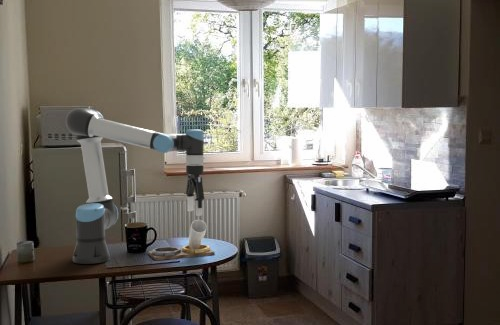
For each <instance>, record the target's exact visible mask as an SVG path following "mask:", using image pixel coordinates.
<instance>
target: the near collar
mask: <svg viewBox="0 0 500 325" xmlns="http://www.w3.org/2000/svg"><path fill="white" fill-rule="evenodd" d="M168 250H169V251H172V252H159V251H168ZM151 251H152V253H153V254H154V255H156V256H172V255H177V254H180V253H181V248H180V247H179V246H177V247H176V246H159V247H155V248H154V249H153V248H152V249H151Z"/></svg>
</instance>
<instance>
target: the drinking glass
mask: <svg viewBox="0 0 500 325" xmlns="http://www.w3.org/2000/svg"><path fill="white" fill-rule="evenodd" d="M207 227H208V226H207V223H206V222H205V221H204V220H202V219H195V220H193V221H192V222H191V223H190V227H189V233H188V235H189V236H188V242H187V245H189V247H190V248H191V249H198V248H199V247H200V244H202V242H203V239H204V238H205V234H206V232H207Z"/></svg>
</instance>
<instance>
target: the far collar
mask: <svg viewBox="0 0 500 325" xmlns="http://www.w3.org/2000/svg"><path fill="white" fill-rule="evenodd" d="M181 248H182V251H183V252H185V253H205V252H207V251H210V249H211V246H209V245H208V244H202V243H201V244H200V247H199V248H204V249H191V248H190V247H189V245H188V244H186V245H183V246H181Z"/></svg>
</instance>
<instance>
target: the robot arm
mask: <svg viewBox="0 0 500 325" xmlns="http://www.w3.org/2000/svg"><path fill="white" fill-rule="evenodd" d="M65 125H66V128H67V129H68V131H69V132H70V133H71V134H73V135H75V138H76V139H75V140H76V142H78V143H79V144H80V147H81V152H82V153H81V154H82V160H83V167H84V174H85V180H86V186H87V194H88V199H87V200H86V201H85V203H86V204H81V205H79V206H78V207H77V208H76V210H75V229H76V231H75V232H76V233H75V234H76V244H75V248H74V251H73V254H72V262H73V263H75V264H81V265H82V264H83V265H88V264H89V265H91V264H92V265H93V264H101V263H105V262H107V261H110V259H111V255H110V251H109V248H108V245H107V242H106V230H108V229H110V228H112V227H113V226H114V225H115V224H116V222H117V220H119V211H118V207H117V205H115V203H114V199H113V197H112V196H111V195H110V194H109V189H108V188H109V187H108V182H107V177H106V176H107V175H106V174H107V173H106V169H105V168H106V167H105V162H104V155H103V149H102V144H101V143H102V140H103V139H107V140H112V141H117V142H120V143H124V144H129V145H132V146H137V147H142V148H145V149H150V150H153V151H157V152H158V153H161V154H162V153H163V154H166V153H170V152H185V164H186V166H185V173H186V174H187V183H186V189H185V194H186V196H187V200H186V202H187V203H186V204H187V210H186V211H187V212H194V211H195V216H196V217H197V216H198V217H201V216H203V204H204V203H203V202H204V200H205V194H204V186H203V176H200V175H203V174H204V160H205V157H204V144H205V143H204V140H205V139H204V131H203V130H202V129H192V128H190V129H186V131H185V133H162V132H158V131H155V130H150V129H145V128H142V127H137V126H133V125H130V124H125V123H120V122H117V121H113V120H110V119H109V120H108V119H105V118H104V116H103V115H102V113H101V112H99V111H98V110H96V109H94V108H82V107H77V108H74V109H71V110H70V111H69V112H68V113H67V115H66V116H65ZM194 193H195V194H194ZM194 197H195V198H194ZM194 199H195V200H194ZM194 203H195V207H194ZM194 208H195V209H194ZM203 217H204V216H203Z"/></svg>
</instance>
